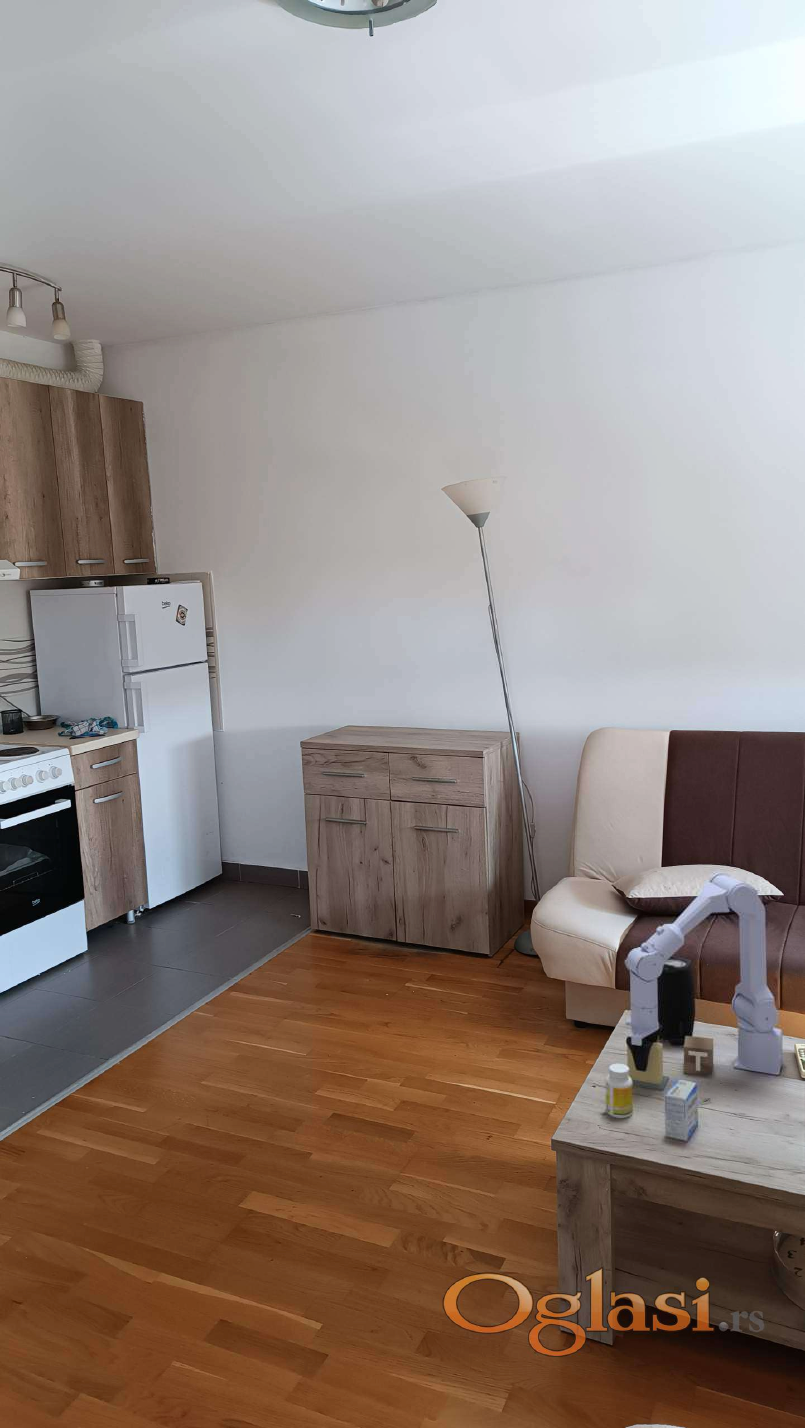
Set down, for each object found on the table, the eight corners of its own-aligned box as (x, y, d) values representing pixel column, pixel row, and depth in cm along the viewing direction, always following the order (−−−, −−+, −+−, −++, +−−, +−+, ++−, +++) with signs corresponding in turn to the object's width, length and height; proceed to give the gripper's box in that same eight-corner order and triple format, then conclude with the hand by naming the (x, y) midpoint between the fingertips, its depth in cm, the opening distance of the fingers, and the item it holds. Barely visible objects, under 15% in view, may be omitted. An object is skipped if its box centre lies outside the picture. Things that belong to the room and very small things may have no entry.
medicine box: (687, 1142, 190) (686, 1099, 189) (664, 1136, 193) (664, 1094, 192) (698, 1124, 197) (698, 1082, 196) (676, 1118, 199) (675, 1077, 198)
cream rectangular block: (662, 1078, 215) (662, 1043, 214) (659, 1084, 212) (659, 1049, 212) (631, 1072, 218) (630, 1038, 217) (627, 1078, 216) (627, 1043, 215)
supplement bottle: (600, 1112, 203) (600, 1067, 202) (617, 1103, 206) (616, 1059, 205) (621, 1121, 199) (621, 1076, 198) (638, 1112, 202) (637, 1067, 201)
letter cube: (713, 1064, 222) (713, 1038, 221) (712, 1076, 216) (712, 1050, 216) (685, 1061, 224) (685, 1035, 223) (684, 1073, 218) (683, 1047, 218)
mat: (668, 1078, 216) (668, 1076, 216) (662, 1090, 211) (662, 1088, 211) (628, 1071, 220) (628, 1069, 220) (621, 1083, 215) (621, 1080, 215)
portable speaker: (656, 1030, 241) (655, 952, 239) (696, 1034, 238) (695, 956, 236) (653, 1044, 233) (652, 964, 231) (694, 1049, 230) (694, 968, 228)
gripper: (634, 989, 222) (635, 1047, 223) (617, 1013, 209) (617, 1074, 210) (665, 994, 219) (666, 1052, 220) (650, 1018, 206) (651, 1080, 207)
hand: (644, 1063), depth 215 cm, fingers open, 6 cm apart
